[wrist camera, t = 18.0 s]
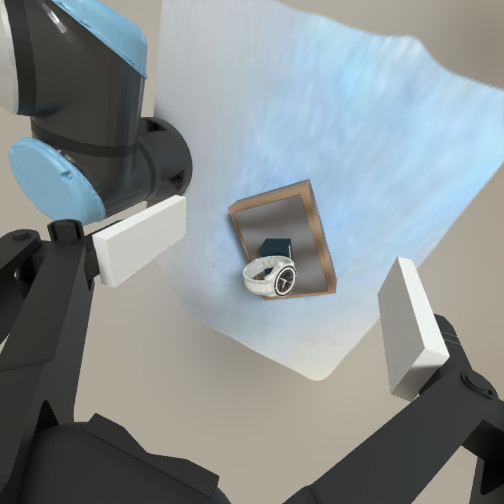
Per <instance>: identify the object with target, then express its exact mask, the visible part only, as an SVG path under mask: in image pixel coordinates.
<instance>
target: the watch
mask: <svg viewBox="0 0 504 504" xmlns="http://www.w3.org/2000/svg"><path fill="white" fill-rule="evenodd" d="M261 249H262V256H263V258H261V257H260V258H258V259H256V260H254V261H252V262H251V263H249V264H248V265H247V266H245V269H244V270H243V278H244V284H245V287H246V289H248V291H250V292H252V293H254V294H258V295H267V296H268V297H273V296H278V297H284V296H286V295H287V294H289V293H290V291H291V290H292V289H293V287H294V285H295V282H296V278H297V274H296V269H295V267H294V262H293V256H292V245H291V238H266V240H265V241H264V243H263V244H262V246H261ZM264 270H265V275H267V276H266V277H265V278H264V280H261V281H260V280H253V279H252V278H253V277H254V276H256V275H257V274H259V273H261V272H263V271H264Z"/></svg>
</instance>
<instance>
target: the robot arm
mask: <svg viewBox="0 0 504 504" xmlns="http://www.w3.org/2000/svg"><path fill="white" fill-rule="evenodd" d="M146 59H147V41H146V37H145V35H144V33H143V32H142V30H141V29H140V27H139V26H137V25H136V24H135V23H134V22H132V21H131V20H129V19H128V18H126V17H124V16H123V15H121V14H120V13H118V12H116V11H115V10H113V9H111V8H110V7H108V6H106V5H105V4H103V3H101V2H100V1H98V0H0V105H1V106H3V107H4V108H5V109H6V110H7V111H9V112H10V113H12V114H17V115H25V116H30V119H31V130H32V138H31V137H24V138H21V139H20V140H19V141H16V142H14V144H13V146H11V147H10V150H9V162H10V166H11V170H12V172H13V175H14V177H15V179H16V181H17V182H18V184H19V186H20V187H21V189H22V191H23V192H24V193H25V195H26V196H27V197H28V198H29V199H30V201H31V202H32V203H33V204H34V205H35V206H36V207H37V208H38V209H39V210H40V211H41V212H42V213H44V214H45V215H46V216H48V217H49V218H51V219H52V220H54V222H51V223H50V224H49V225H47V227H48V231H49V234H50V238H51V241H43V240H41V239H40V236H39V233H38V232H37V231H35V230H30V229H28V230H27V229H20V230H15V231H13V232H10V233H8V234H6V235H4V236H3V237H1V238H0V344H1V343H2V342H3V341H4V340H5V338H6V337H7V336H8V335H9V336H8V338H7V341H6V343H5V345H4V347H3V349H2V351H1V354H0V504H231V503H230V501H229V500H228V498H227V497H226V496H225V494H224V493H223V492H222V491H221V490H220V489H219V488H218V487H217V486H218V480H219V476H218V475H216V474H214V473H212V472H210V471H208V470H207V469H204V468H203V467H201V466H199V465H197V464H195V463H193V462H191V461H189V460H187V459H182V458H175V457H168V456H162V455H154V454H150V453H147V452H146V451H145V450H144V449H143V448H142V447H141V446H140V445H139V444H138V442H137V441H136V440H135V439H134V438H133V437H132V436H131V435H130V434H129V433H128V431H127V430H126V429H125V428H124V427H123V426H120V425H119V424H117V423H115V422H113V421H111V420H109V419H107V418H105V417H103V416H101V415H99V414H97V413H95V414H94V415H93V417H92V418H91V419H90V420H89V421H88V422H74V417H73V416H74V404H75V397H76V392H77V386H78V380H79V374H80V368H81V362H82V356H83V350H84V344H85V338H86V332H87V327H88V321H89V315H90V309H91V303H92V297H93V290H94V285H95V283H94V277H95V276H97V275H99V274H100V278H101V282H102V284H105V285H107V286H110V287H113V288H115V287H116V286H118V285H119V284H120V283H122V282H123V281H124V280H126V279H127V278H128V277H130V276H131V275H132V274H134V273H135V272H136V271H138V270H139V269H140V268H142V267H143V266H144V265H146V264H147V263H148V262H150V261H151V260H152V259H154V258H155V257H157V256H158V255H159V254H161V253H162V252H163V251H165V250H166V249H167V248H169V247H170V246H171V245H173V244H174V243H175V242H177V241H178V240H179V239H181V238H182V237H183V236H185V235H186V197H182V196H178V195H180V194H181V193H183V192H184V191H185V190H186V188H187V187H188V185H189V183H190V180H191V176H192V159H191V155H190V151H189V148H188V146H187V144H186V142H185V140H184V139H183V137H182V136H181V134H180V133H179V132H178V131H177V130H176V129H175V128H174V127H173V126H172V125H171V124H169V123H168V122H166V121H164V120H162V119H159V118H155V117H142V118H141V110H142V109H141V108H142V101H143V94H144V86H145V79H147V74H146ZM142 201H162V202H160V203H158V204H156V205H154V206H152V207H150V208H148V209H145V210H143V211H141V212H140V213H137V214H135V215H133V216H131V217H129V218H127V219H123V220H119V221H116V222H114V223H112V224H110V225H107V226H105V227H104V228H101V229H99V230H97V231H95V232H92V233H90V234H88V235H86V236H84V231H83V227H82V226H85V225H88V224H91V223H94V222H99V221H102V220H104V219H106V218H108V217H110V216H112V215H114V214H116V213H119V212H121V211H123V210H125V209H127V208H129V207H131V206H134V205H135V204H138V203H140V202H142ZM15 273H16V275H17V276H16V277H14V274H15ZM378 300H379V308H380V316H381V323H382V331H383V339H384V346H385V354H386V362H387V369H388V377H389V385H390V392H391V394H392V395H395V396H397V397H400V398H403V399H405V400H408V401H410V402H411V403H410V404H409V405H408V406H406V407H405V408H404V409H403V410H402V411H400V412H399V413H398V414H397V415H395V416H394V417H393V418H392V419H391V420H389V421H388V422H387V423H386V424H385V425H383V426H382V427H381V428H380V429H379V430H377V431H376V432H375V433H374V434H373V435H371V436H370V437H369V438H368V439H366V440H365V441H364V442H363V443H361V444H360V445H359V446H358V447H357V448H355V449H354V450H353V451H352V452H351V453H349V454H348V455H347V456H346V457H345V458H343V459H342V460H341V461H340V462H338V463H337V464H336V465H335V466H333V467H332V468H331V469H330V470H329V471H327V472H326V473H325V474H324V475H323V476H322V477H320V478H319V479H318V480H317V481H315V482H314V483H313V484H311V485H309V486H305V487H303V488H302V489H300V490H299V491H298V492H296V493H295V494H294V495H293V496H291V497H290V498H289V499H288V500H286V501H285V502H284V503H283V504H411V503H412V502H413V501H414V500H415V499H416V497H417V496H418V495H419V494H420V493H421V491H422V490H423V489H424V488H425V487H426V486H427V484H428V483H429V482H430V481H431V480H432V479H433V477H434V476H435V475H436V474H437V473H438V471H439V470H440V469H441V468H442V467H443V466H444V464H445V463H446V462H447V461H448V460H449V459H450V457H451V456H452V455H453V454H454V453H455V451H456V450H457V449H458V448H459V447H460V445H461V446H463V447H464V448H466V449H467V450H469V451H470V452H472V453H473V454H475V455H476V456H478V458H477V464H476V469H475V475H474V480H473V486H472V491H471V497H470V503H469V504H504V401H502V400H500V399H499V398H498V395H497V392H496V390H495V389H494V387H493V386H492V385H491V383H490V382H488V381H487V380H486V379H485V378H484V377H483V376H482V375H480V374H478V373H477V372H475V371H474V370H472V368H471V365H470V363H469V361H468V359H467V357H466V354H465V352H464V350H463V348H462V346H461V345H460V341H459V339H458V338H457V335H456V332H455V330H454V328H453V327H452V325H451V324H450V323H449V322H448V321H447V320H446V319H445V317H443V316H440V315H436V314H434V313H433V312H432V310H431V307H430V304H429V302H428V299H427V297H426V294H425V292H424V289H423V286H422V284H421V281H420V279H419V276H418V274H417V271H416V268H415V266H414V263H413V261H412V260H410V259H406V258H402V257H399V256H397V258H396V260H395V262H394V264H393V266H392V268H391V270H390V272H389V273H388V275H387V277H386V279H385V281H384V283H383V285H382V287H381V289H380V291H379V293H378ZM9 333H10V334H9ZM418 394H419V395H420V396H419V397H417V398H416V399H415V400H414V401H413V399H414V398H415V397H416V396H417V395H418Z"/></svg>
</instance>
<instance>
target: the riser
mask: <svg viewBox="0 0 504 504" xmlns="http://www.w3.org/2000/svg"><path fill="white" fill-rule="evenodd" d="M228 210H229V212H230V215H231V217H232V220H233V222H234V225H235V227H236V230H237V232H238V235H239V237H240V240H241V242H242V245H243V247H244V250H245V252H246V255H247V257H248V260H249V262H250V263H251V262H252V261H254V260H256V259H258V258H260V257H261V258H263V256H262V249H261V246H262V244H263V243H264V241H265V240H266V238H291V245H292V256H293V262H294V267H295V269H296V274H297V278H296V282H295V285H294V287H293V289H292V290H291V291H290V293H289V294H287V295H286V296H284V297H278V296H273V297H268V296H267V295H263V297H264V300H273V299H283V298H293V297H303V296H313V295H323V294H333V293H336V284H337V278H336V274H335V270H334V267H333V263H332V260H331V256H330V252H329V249H328V245H327V241H326V238H325V234H324V230H323V227H322V223H321V219H320V216H319V212H318V208H317V205H316V201H315V198H314V194H313V190H312V187H311V183H310V179H308V180H305V181H301V182H298V183H295V184H291V185H288V186H285V187H281V188H278V189H275V190H271V191H268V192H265V193H261V194H258V195H255V196H251V197H248V198H245V199H242V200H238V201H237V202H235V203H234V204H233V205H231V206H230V207H229V208H228ZM266 276H267V275H265V270H264V271H263V272H261V273H259V274H257V275H256V276H255V277H256V280H260V281H261V280H264V278H265V277H266Z"/></svg>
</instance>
